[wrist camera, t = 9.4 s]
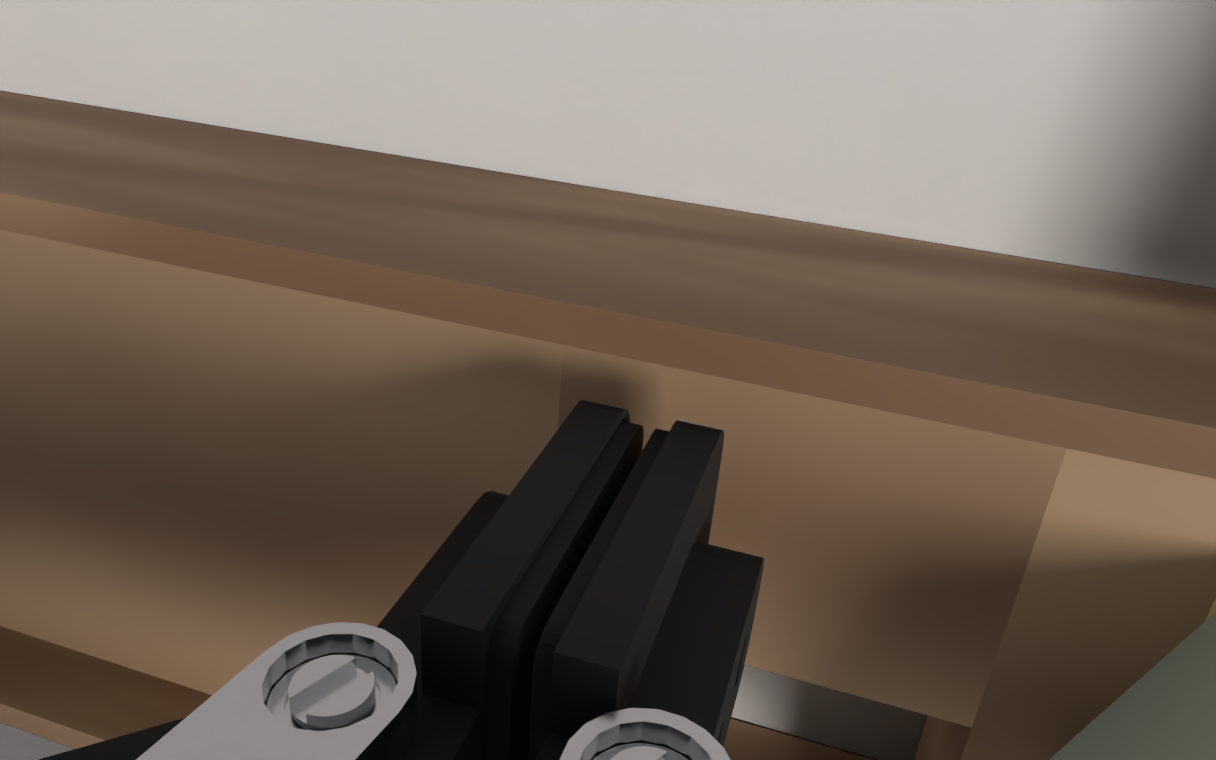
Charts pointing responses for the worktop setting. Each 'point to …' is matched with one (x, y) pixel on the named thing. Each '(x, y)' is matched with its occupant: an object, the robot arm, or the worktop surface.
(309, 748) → the robot arm
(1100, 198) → the worktop surface
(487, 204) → the box
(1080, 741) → the block
